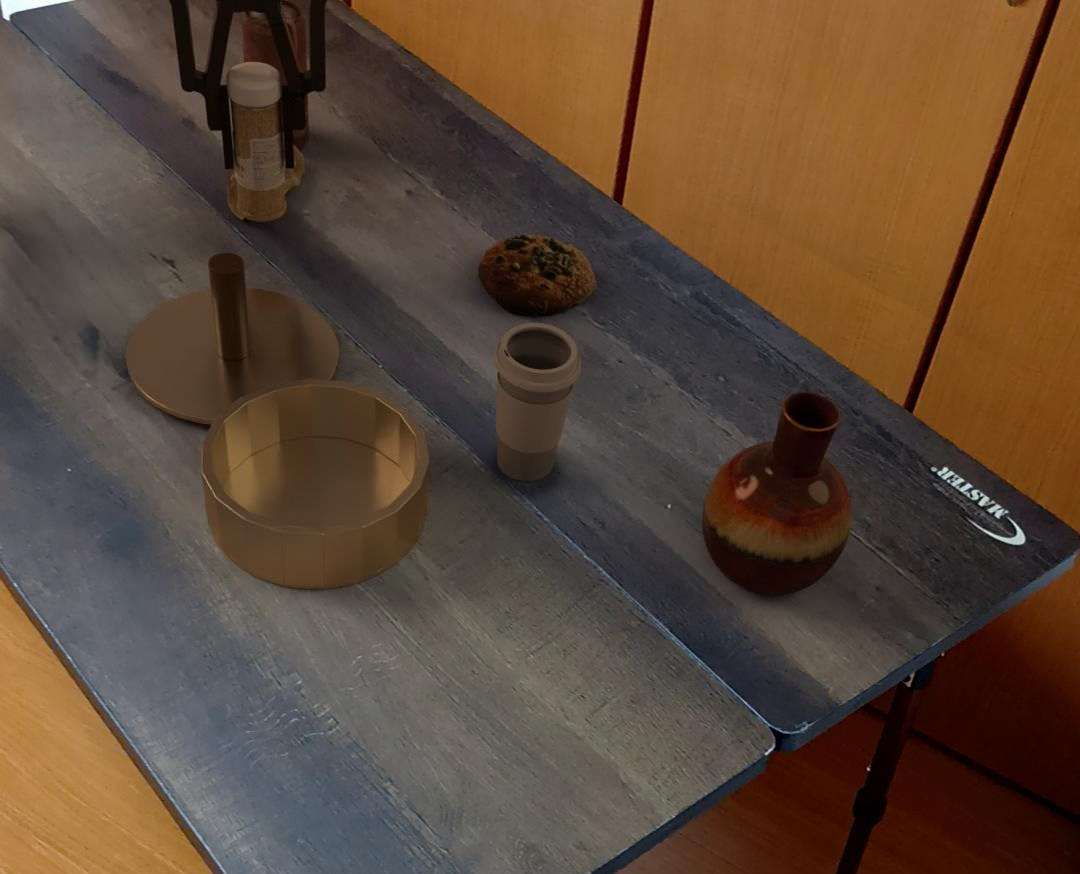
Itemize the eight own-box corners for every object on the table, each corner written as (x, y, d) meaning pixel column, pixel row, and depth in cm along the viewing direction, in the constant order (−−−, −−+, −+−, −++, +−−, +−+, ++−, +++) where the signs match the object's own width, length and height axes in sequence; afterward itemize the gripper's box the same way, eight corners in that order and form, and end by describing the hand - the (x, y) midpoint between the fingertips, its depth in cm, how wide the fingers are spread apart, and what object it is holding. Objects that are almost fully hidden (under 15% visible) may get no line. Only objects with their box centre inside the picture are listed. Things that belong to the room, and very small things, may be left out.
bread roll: (476, 314, 120) (482, 264, 117) (475, 257, 129) (481, 209, 126) (596, 325, 122) (605, 277, 119) (587, 268, 130) (596, 221, 127)
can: (284, 164, 134) (278, 32, 124) (237, 141, 136) (227, 10, 126) (323, 140, 138) (320, 11, 128) (276, 119, 140) (269, -11, 130)
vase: (688, 598, 100) (730, 450, 89) (696, 496, 107) (736, 348, 96) (833, 623, 100) (894, 478, 88) (831, 519, 107) (886, 373, 96)
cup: (472, 440, 109) (481, 325, 101) (547, 426, 111) (562, 312, 103) (501, 499, 105) (513, 384, 96) (578, 483, 107) (597, 369, 98)
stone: (289, 97, 131) (275, 173, 120) (309, 155, 135) (297, 233, 124) (220, 111, 131) (200, 188, 121) (242, 169, 136) (224, 247, 125)
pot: (208, 598, 95) (201, 542, 91) (207, 438, 106) (201, 382, 102) (437, 583, 98) (440, 528, 94) (413, 429, 110) (415, 374, 105)
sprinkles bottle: (231, 200, 122) (219, 62, 112) (280, 192, 123) (272, 56, 113) (244, 227, 119) (233, 89, 109) (294, 220, 120) (287, 83, 111)
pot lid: (123, 436, 106) (105, 335, 98) (131, 300, 117) (115, 201, 110) (346, 426, 109) (345, 328, 102) (332, 295, 121) (330, 199, 113)
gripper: (118, -95, 96) (156, 185, 113) (361, -88, 99) (362, 182, 116) (122, -136, 101) (157, 138, 118) (353, -128, 104) (355, 137, 121)
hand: (259, 160), depth 117 cm, fingers closed on sprinkles bottle, 4 cm apart
